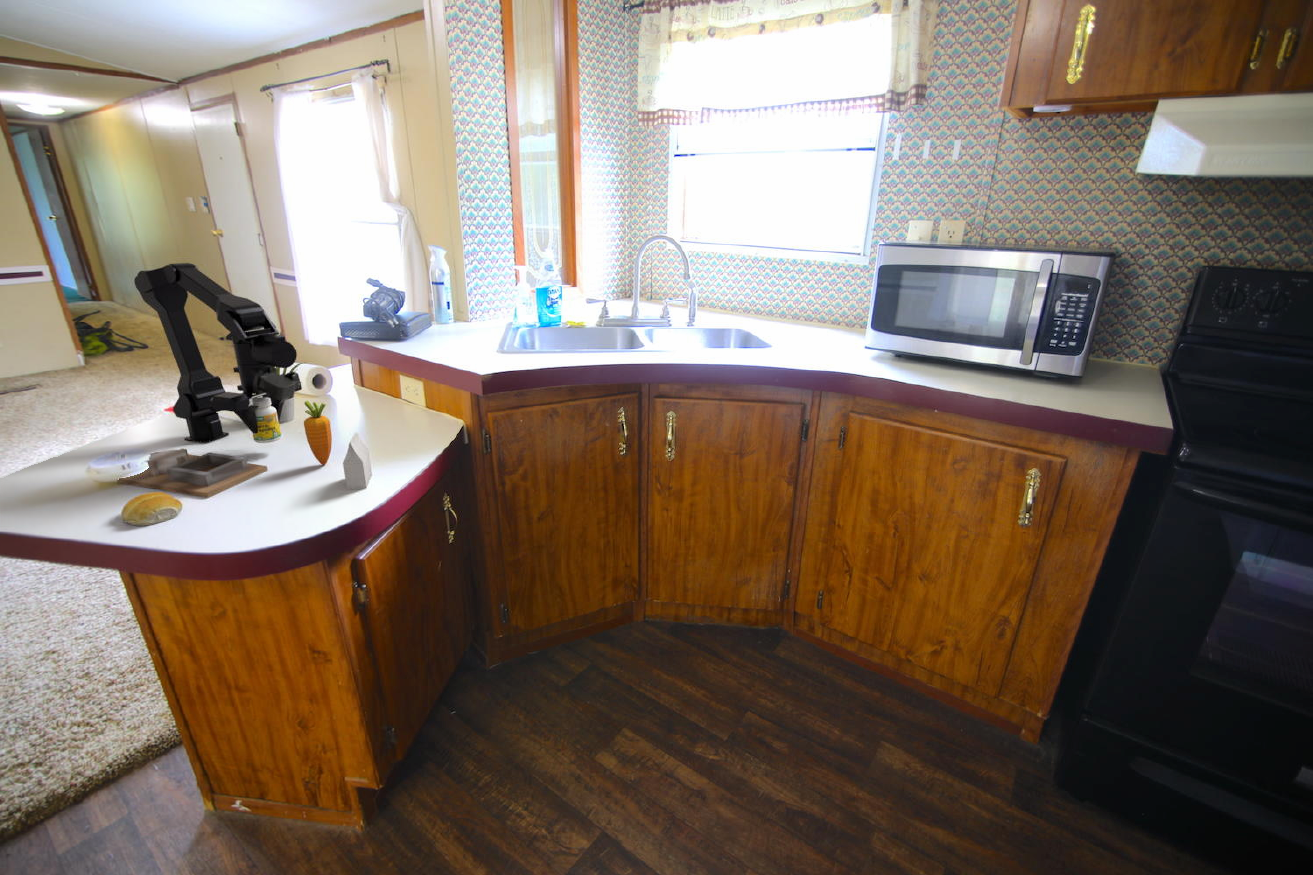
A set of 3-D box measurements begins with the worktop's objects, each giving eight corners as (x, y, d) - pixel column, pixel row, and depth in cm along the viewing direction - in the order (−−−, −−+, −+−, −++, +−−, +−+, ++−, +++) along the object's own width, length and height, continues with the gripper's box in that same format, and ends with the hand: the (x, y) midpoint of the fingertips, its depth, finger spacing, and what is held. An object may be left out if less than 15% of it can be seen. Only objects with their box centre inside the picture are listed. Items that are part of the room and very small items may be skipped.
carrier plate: (118, 482, 119) (112, 464, 118) (184, 457, 132) (180, 440, 131) (208, 497, 115) (203, 479, 114) (267, 470, 128) (264, 453, 126)
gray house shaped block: (372, 475, 128) (366, 431, 125) (366, 488, 122) (360, 443, 119) (353, 476, 127) (346, 432, 124) (346, 489, 121) (339, 444, 118)
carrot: (341, 463, 133) (331, 399, 128) (323, 471, 129) (312, 405, 123) (324, 459, 135) (314, 396, 129) (305, 467, 130) (294, 402, 125)
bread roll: (169, 501, 114) (164, 482, 112) (190, 514, 109) (185, 495, 108) (114, 517, 107) (108, 497, 106) (134, 532, 103) (128, 511, 101)
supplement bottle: (281, 434, 139) (273, 395, 135) (282, 441, 135) (275, 401, 131) (253, 437, 136) (245, 397, 133) (254, 445, 132) (245, 404, 128)
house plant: (302, 407, 168) (292, 350, 162) (327, 417, 160) (317, 359, 155) (246, 418, 157) (233, 358, 151) (270, 431, 149) (257, 368, 144)
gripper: (247, 375, 119) (261, 447, 124) (316, 356, 136) (326, 420, 141) (201, 370, 121) (217, 441, 126) (275, 352, 138) (286, 415, 144)
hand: (265, 429), depth 134 cm, fingers closed on supplement bottle, 5 cm apart
